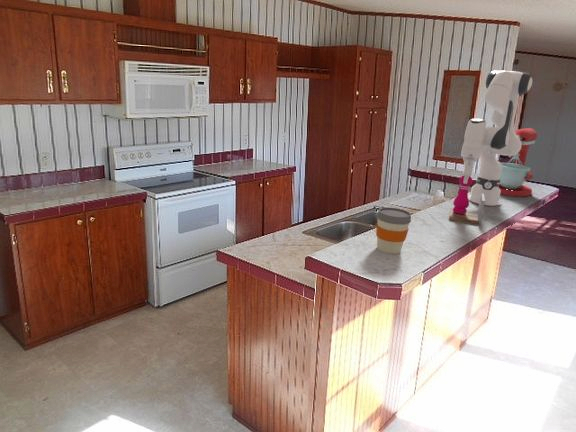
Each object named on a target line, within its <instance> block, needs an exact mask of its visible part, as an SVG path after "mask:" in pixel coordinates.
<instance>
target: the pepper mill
mask: <svg viewBox="0 0 576 432" xmlns="http://www.w3.org/2000/svg"><path fill="white" fill-rule="evenodd" d="M458 181H459V186H458V188H459V191H458V194H457V195H456V197H455V198H454V200H453V212H455V213H459V214H466V211H468V210H467V208H468V207H469V206H470V201H469V200H468V196H469V190H471V186H472V184H473V177H472V176H469V178H468V182H467V184H464V183H463V181H464V175H461V176H460V177H459V180H458Z"/></svg>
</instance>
